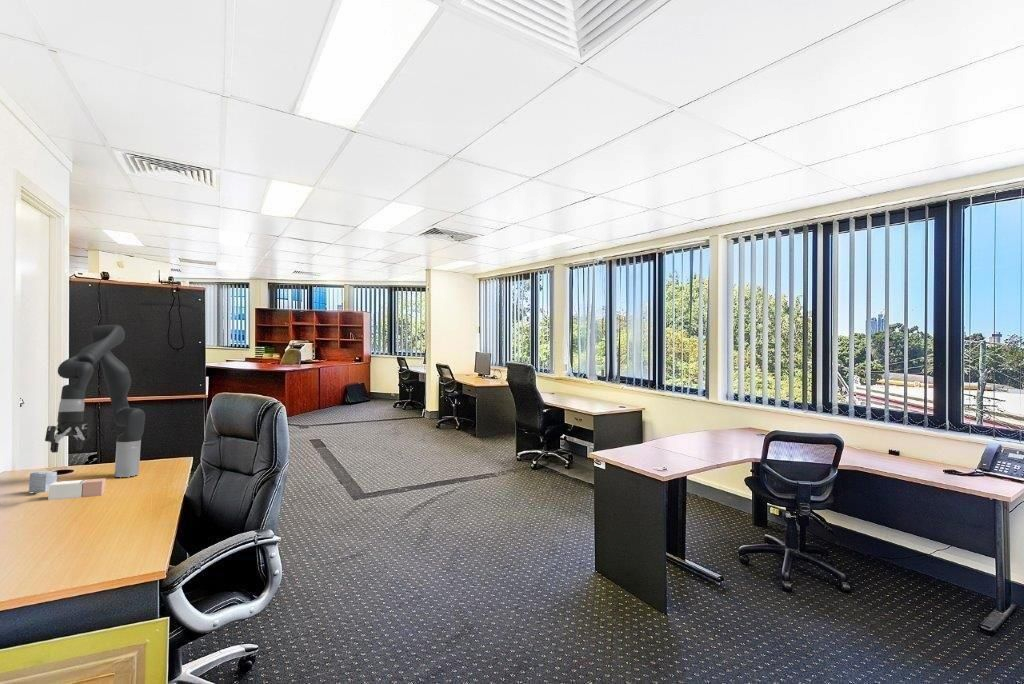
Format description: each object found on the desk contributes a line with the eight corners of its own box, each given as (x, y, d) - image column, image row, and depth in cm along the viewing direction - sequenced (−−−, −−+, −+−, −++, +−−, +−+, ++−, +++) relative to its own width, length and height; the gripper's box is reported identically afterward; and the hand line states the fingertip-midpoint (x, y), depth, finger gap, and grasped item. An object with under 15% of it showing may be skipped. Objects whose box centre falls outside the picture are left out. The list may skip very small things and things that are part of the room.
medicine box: (56, 491, 197) (57, 471, 197) (44, 494, 192) (46, 474, 192) (40, 490, 197) (41, 470, 198) (28, 493, 193) (29, 473, 193)
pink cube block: (86, 493, 192) (87, 479, 192) (104, 491, 195) (105, 478, 195) (82, 496, 188) (83, 482, 188) (101, 495, 191) (102, 481, 191)
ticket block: (53, 496, 187) (54, 481, 187) (85, 494, 192) (86, 479, 192) (48, 500, 183) (49, 484, 183) (81, 497, 187) (82, 482, 188)
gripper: (83, 409, 193) (78, 448, 191) (43, 410, 179) (38, 453, 177) (97, 410, 192) (93, 449, 190) (58, 411, 178) (53, 453, 176)
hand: (66, 451), depth 184 cm, fingers open, 8 cm apart
